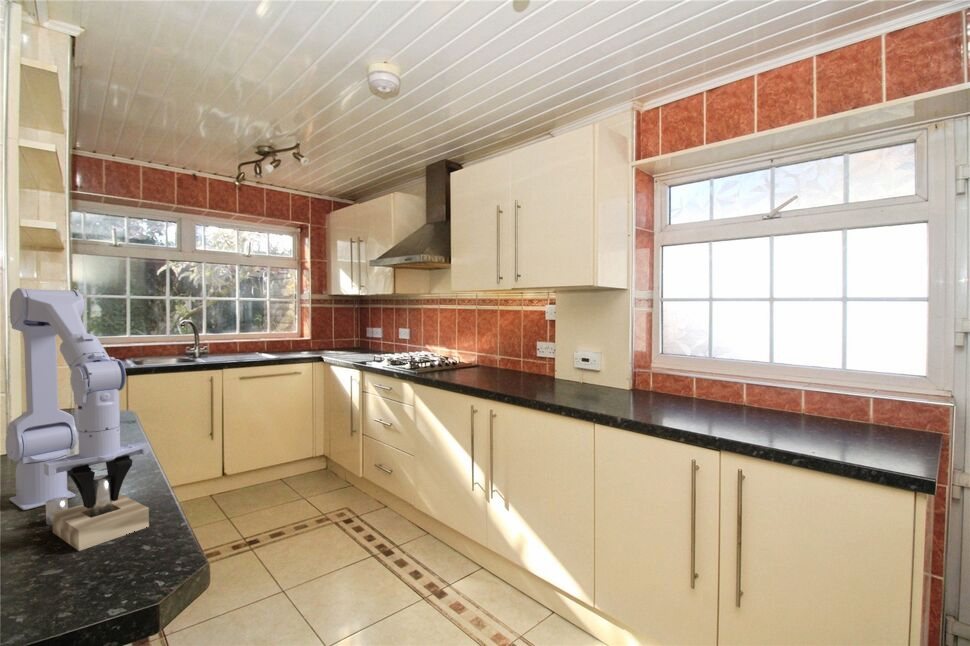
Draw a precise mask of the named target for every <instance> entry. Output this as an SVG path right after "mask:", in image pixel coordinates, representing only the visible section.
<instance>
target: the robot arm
mask: <svg viewBox="0 0 970 646" xmlns="http://www.w3.org/2000/svg"><path fill="white" fill-rule="evenodd" d="M84 311H85V300H84V297H83V295H82V293H81V292H80V291H79V290H77V289H71V290H66V289H64V290H63V289H37V288H36V289H35V288H34V289H31V288H24V287H23V288H22V287H18V288H16V289H15V290H13V291H12V293H11V295H10V298H9V322H10V324H11V329H13V330H15V331H19V332H21V333H22V337H23V341H24V342H23V343H24V344H23V345H24V369H25V370H24V371H25V374H24V375H25V399H26V402H25V403H26V411H24V412H23V413H22V414H20V415H19V416H18V417H16V418H15V419H13V420H12V421H10V422H9V423H8V425H7V431H6V433H7V434H6V436H5V450H6V454H7V457H8V459H10V460H12V461H13V462H18V463H17V465H16V467H15V496H12V497H9V501H10V502H11V503H13V504H14V505H16V506H17V507H19V508H20V510H23V511H26V510H30V509H34V508H38V507H43V506H46V502H47V501H48V500H51V499H54V498H58V497H67V498H68V499H71V498H75V497H76V494H75V493H73V492H72V491H70V490H68V477H70V478H71V480H72V482H73V483H74V484H75V486H76V488H77V490H78V492H79V494H80V496H81V499H82V503H83V504H84V507H86V508H92V507H93V504H94V499H93V481H94V477H95V473H96V472H95V471H93V470H92V468H91V466H94V465H101V464H103V463H105V466H106V471H107V475H111V483H112V501H116V500H118V496H119V494H120V491H121V488H122V486H123V483H124V480H125V478H126V476H127V474H128V473H129V470H130V469H131V468H132V465H133V459H131V458H130V457H134V456H138V455H147V454H149V453H150V443H148V442H146V441H142V442H138V443H137V442H136V443H131V444H124V445H121V419H120V418H121V412H120V407H121V405H120V391H122V390H123V389H124V388H125V385H126V382H127V373H126V368H125V365H124V364H123V361H122V360H121V359H119V358H118V359H117V358H115V357H114V356H109V354H108V353H107V351H106V349H105V347H104V345H102V343H101V342H100V341H101V340H99V337H97V336H96V335H95V334H92V333H87V330H86V327H85V325H84V323H83V321H82V317H83V314H84ZM57 336H58V337H59V338H60V339H61V343H60V345H59V352H60V354H61V355H62V357H63V359H64V361H65V362H66V364H67V366H68V369H69V370H70V387H71V389H72V393H73V401H74V405H76V406H77V421H78V422H77V427H76V422H75V418H74V416H73V415H72V414H70V413H69V412H67V411H65V410H62V409H59V387H58V386H59V383H58V354H57V353H58V351H57V349H58V348H57ZM77 428H78V429H77ZM77 432H78V434H77ZM78 438H79V454H76V455H72V456H69V457H67V454H70V450H72V449H73V448H74V447H75V446H76V444H77V439H78ZM67 473H68V474H69V476H68V477H67Z"/></svg>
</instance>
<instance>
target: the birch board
mask: <svg viewBox="0 0 970 646" xmlns="http://www.w3.org/2000/svg"><path fill="white" fill-rule="evenodd" d="M149 512H150V507H148V506H146V505H144V504H142V503H140V502H137V501H136V500H134V499H131V498H130V497H128V496H125V495H123V494H121V493H119V496H118V500H116V501H112V512H109V513H105V514H102V515H99V516H96V517H92V518H90V508H86V507H84V504H80V505H75V506H72V507H68V509H65V510H61V511H58V512H54V513H52V516H53V525H52V534H54V535H56V536H58V537H59V538H60V539H61V540H63V541H64V542H66V543H67V544H68V545H69V546H71V547H72V548H74V549H75V550H76V551H78V552H81V551H84V550H86V549H89V548H92V547H95V546H97V545H101V544H103V543H107V542H110V541H113V540H115V539H118V538H121V537H124V536H127V535H130V534H132V533H135V532H138V531H140V530H144V529H147V528H150V513H149ZM146 527H147V528H146ZM134 531H135V532H134ZM129 533H130V534H129ZM126 534H127V535H126Z"/></svg>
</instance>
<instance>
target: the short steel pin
mask: <svg viewBox="0 0 970 646" xmlns="http://www.w3.org/2000/svg"><path fill="white" fill-rule="evenodd" d="M68 500H69V498H67V497H58V498H54V499H51V500H48V501H47V502H46V505H45V518H46V519H45V522H46V525H48V526H53V516H52V513H54V512H58V511H61V510H65V509H68V508H69V503H68V502H69V501H68Z"/></svg>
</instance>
